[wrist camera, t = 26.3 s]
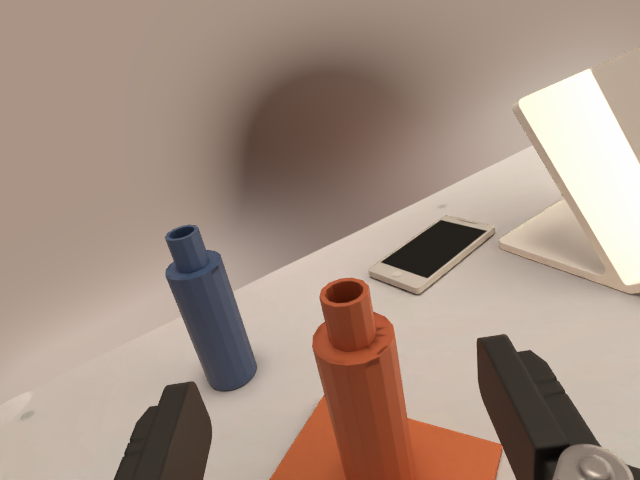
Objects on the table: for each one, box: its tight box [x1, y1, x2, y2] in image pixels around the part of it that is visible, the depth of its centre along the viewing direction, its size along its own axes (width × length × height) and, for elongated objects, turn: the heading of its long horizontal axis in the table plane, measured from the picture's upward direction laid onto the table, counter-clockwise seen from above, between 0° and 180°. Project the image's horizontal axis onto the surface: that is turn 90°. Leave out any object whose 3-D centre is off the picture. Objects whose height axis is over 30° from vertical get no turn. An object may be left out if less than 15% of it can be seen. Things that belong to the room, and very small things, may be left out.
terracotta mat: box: [270, 395, 502, 480], centre depth 32 cm, size 10×14×1 cm
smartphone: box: [369, 215, 495, 294], centre depth 56 cm, size 7×15×1 cm, turn 132°
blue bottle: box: [165, 225, 257, 391], centre depth 41 cm, size 5×5×15 cm
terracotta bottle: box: [312, 278, 415, 480], centre depth 29 cm, size 5×5×15 cm
